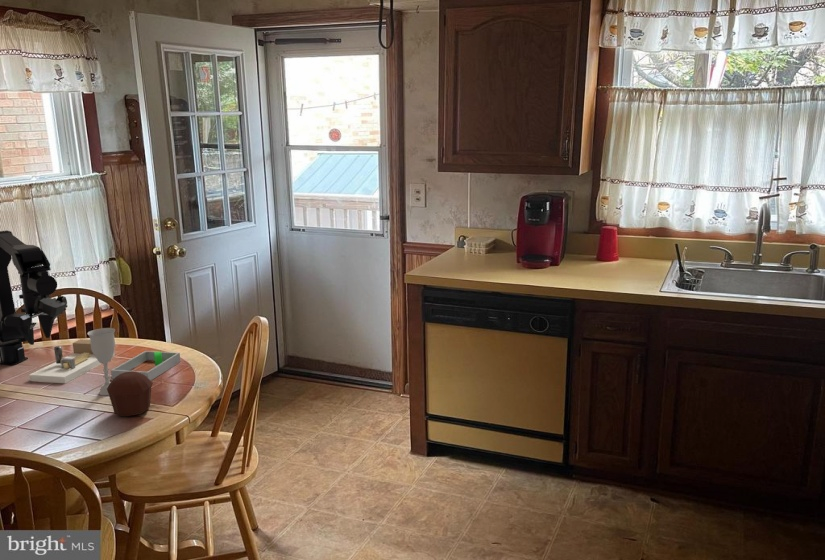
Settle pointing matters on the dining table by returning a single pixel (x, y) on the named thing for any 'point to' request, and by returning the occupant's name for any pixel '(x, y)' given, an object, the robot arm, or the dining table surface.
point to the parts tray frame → (167, 357)
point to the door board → (64, 375)
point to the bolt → (77, 359)
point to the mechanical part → (157, 358)
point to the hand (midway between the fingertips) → (40, 341)
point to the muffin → (130, 393)
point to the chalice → (103, 351)
